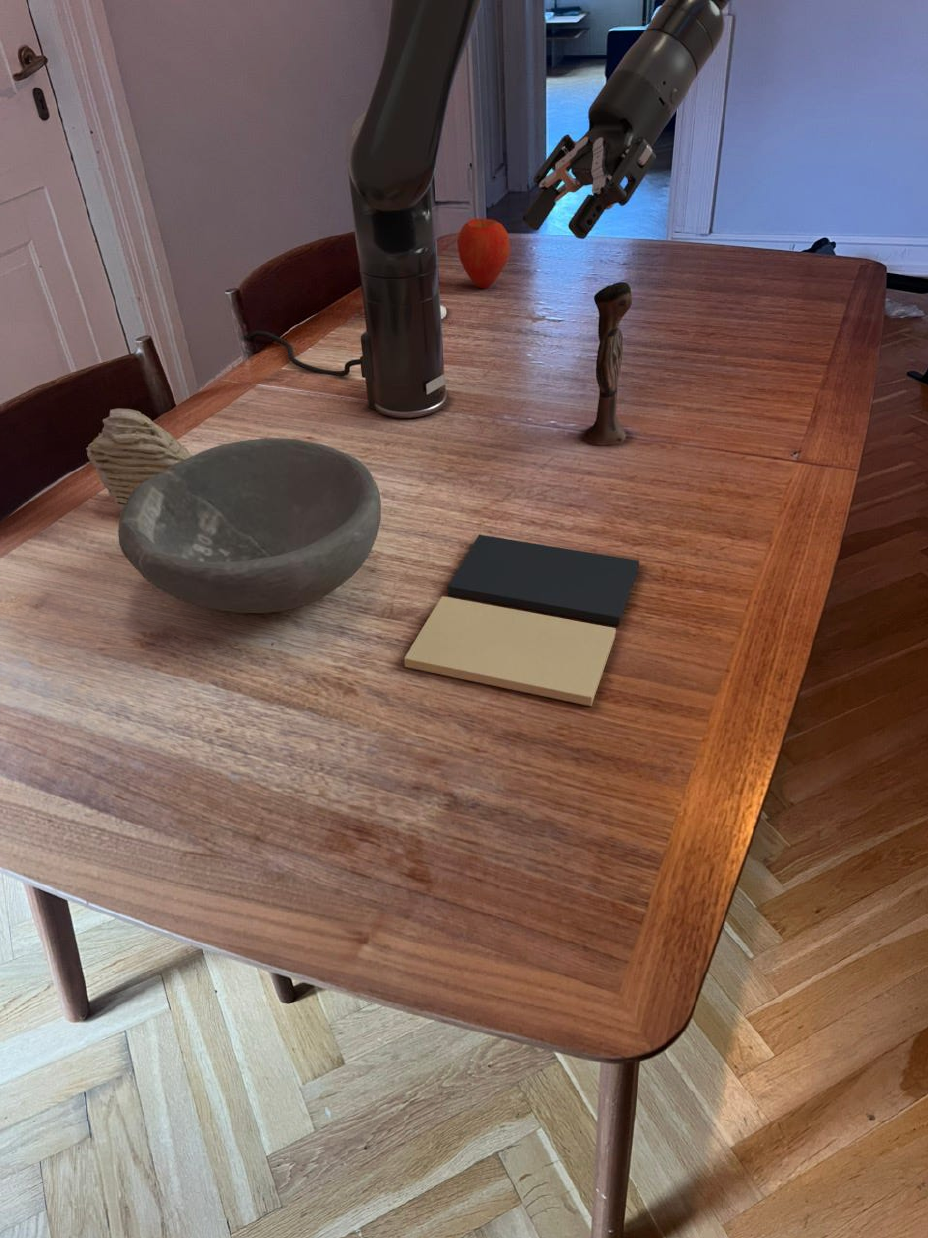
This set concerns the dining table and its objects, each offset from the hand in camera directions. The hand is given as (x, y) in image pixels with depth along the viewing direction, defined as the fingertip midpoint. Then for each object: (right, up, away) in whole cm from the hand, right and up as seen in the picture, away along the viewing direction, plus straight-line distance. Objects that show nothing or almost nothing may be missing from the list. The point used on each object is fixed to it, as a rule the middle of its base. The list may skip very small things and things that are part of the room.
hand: (551, 229), depth 93 cm
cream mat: (-5, -44, -17) cm, 47 cm away
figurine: (+7, -20, +12) cm, 24 cm away
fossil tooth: (-42, -29, +4) cm, 51 cm away
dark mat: (-2, -37, -10) cm, 39 cm away
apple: (-6, +15, +56) cm, 58 cm away
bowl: (-28, -38, -8) cm, 47 cm away
